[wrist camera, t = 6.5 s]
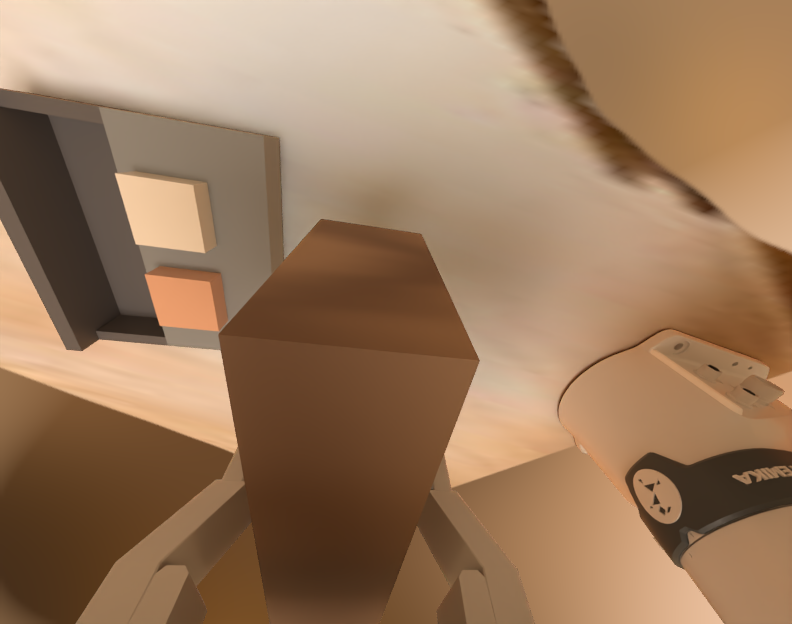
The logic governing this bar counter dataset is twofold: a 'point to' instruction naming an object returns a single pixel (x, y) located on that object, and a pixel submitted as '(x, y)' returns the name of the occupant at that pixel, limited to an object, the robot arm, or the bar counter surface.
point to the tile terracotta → (187, 298)
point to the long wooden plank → (343, 415)
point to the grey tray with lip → (107, 219)
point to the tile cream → (168, 211)
